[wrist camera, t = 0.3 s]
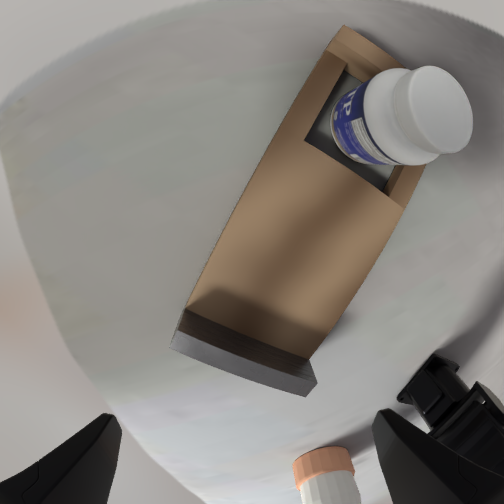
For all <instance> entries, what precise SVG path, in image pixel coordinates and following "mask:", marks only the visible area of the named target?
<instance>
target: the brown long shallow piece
mask: <svg viewBox="0 0 504 504" xmlns="http://www.w3.org/2000/svg"><path fill="white" fill-rule="evenodd" d="M393 68H403V69H406V68H405V67H404V66H403V65H401V64H400V63H399V62H398V61H396V60H395V59H394V58H392V57H391V56H390V55H388V54H387V53H386V52H384V51H383V50H382V49H380V48H379V47H377V46H376V45H375V44H373V43H372V42H370V41H369V40H367V39H366V38H364V37H363V36H361V35H360V34H358V33H357V32H355V31H353V30H352V29H350V28H349V27H347V26H345V25H343V26H342V28H341V29H340V30H339V31H338V33H337V34H336V35H335V36H334V38H333V39H332V40H331V41H330V43H329V44H328V46H327V47H326V49H325V51H324V52H323V54H322V56H321V57H320V59H319V60H318V62H317V64H316V65H315V67H314V69H313V70H312V72H311V74H310V75H309V77H308V79H307V80H306V82H305V84H304V85H303V87H302V89H301V90H300V92H299V94H298V95H297V97H296V99H295V100H294V102H293V104H292V106H291V107H290V109H289V111H288V112H287V114H286V116H285V118H284V119H283V121H282V123H281V125H280V126H279V128H278V130H277V132H276V133H275V135H274V137H273V139H272V141H271V142H270V144H269V146H268V148H267V149H266V151H265V153H264V155H263V157H262V158H261V160H260V162H259V164H258V166H257V168H256V169H255V171H254V173H253V175H252V177H251V179H250V180H249V182H248V184H247V186H246V188H245V190H244V192H243V193H242V195H241V197H240V199H239V201H238V203H237V205H236V207H235V208H234V210H233V212H232V214H231V216H230V218H229V220H228V222H227V224H226V226H225V228H224V229H223V231H222V233H221V235H220V237H219V239H218V241H217V243H216V245H215V247H214V249H213V251H212V253H211V255H210V257H209V259H208V261H207V263H206V265H205V267H204V269H203V271H202V273H201V275H200V277H199V279H198V281H197V283H196V285H195V287H194V289H193V291H192V293H191V295H190V297H189V299H188V301H187V303H186V306H185V308H184V310H183V312H182V314H181V316H180V319H179V321H178V324H177V327H176V330H175V333H174V335H173V338H172V341H171V344H170V347H169V348H171V349H173V350H175V351H177V352H180V353H182V354H184V355H187V356H189V357H191V358H194V359H196V360H198V361H201V362H203V363H206V364H208V365H211V366H213V367H216V368H218V369H221V370H224V371H226V372H229V373H232V374H234V375H237V376H240V377H243V378H245V379H248V380H251V381H254V382H257V383H260V384H263V385H266V386H269V387H272V388H276V389H279V390H282V391H285V392H289V393H292V394H296V395H299V396H303V397H306V396H307V395H308V394H309V393H310V392H311V390H312V389H313V388H314V387H315V386H316V385H317V380H316V377H315V375H314V372H313V369H312V366H311V363H310V361H309V359H310V358H311V356H312V355H313V354H314V352H315V351H316V350H317V348H318V347H319V346H320V344H321V343H322V342H323V340H324V339H325V338H326V336H327V335H328V333H329V332H330V331H331V329H332V328H333V326H334V325H335V324H336V322H337V321H338V319H339V318H340V316H341V315H342V314H343V312H344V311H345V309H346V308H347V306H348V305H349V303H350V302H351V300H352V299H353V297H354V296H355V294H356V293H357V291H358V289H359V288H360V286H361V285H362V283H363V282H364V280H365V278H366V277H367V275H368V274H369V272H370V270H371V269H372V267H373V265H374V264H375V262H376V260H377V259H378V257H379V255H380V253H381V252H382V250H383V248H384V247H385V245H386V243H387V241H388V240H389V238H390V236H391V234H392V232H393V230H394V229H395V227H396V225H397V223H398V221H399V219H400V217H401V216H402V214H403V212H404V210H405V208H406V206H407V204H408V202H409V200H410V198H411V196H412V194H413V192H414V190H415V188H416V186H417V183H418V181H419V179H420V177H421V175H422V173H423V170H424V168H425V166H426V164H427V163H426V164H423V165H412V166H411V165H396V166H395V168H394V170H393V172H392V174H391V176H390V178H389V180H388V182H387V184H386V186H385V188H384V190H383V192H381V191H380V190H378V189H377V188H376V187H374V186H373V185H371V184H370V183H369V182H367V181H366V180H364V179H363V178H361V177H360V176H359V175H357V174H356V173H354V172H353V171H351V170H350V169H348V168H347V167H345V166H344V165H342V164H341V163H339V162H338V161H336V160H335V159H333V158H331V157H330V156H328V155H327V154H325V153H323V152H322V151H320V150H319V149H317V148H315V147H314V146H312V145H310V144H309V143H307V142H305V141H304V139H305V137H306V135H307V134H308V132H309V130H310V128H311V126H312V125H313V123H314V121H315V119H316V117H317V116H318V114H319V112H320V110H321V109H322V107H323V105H324V103H325V101H326V100H327V98H328V96H329V94H330V93H331V91H332V89H333V87H334V85H335V84H336V82H337V80H338V78H339V77H340V75H341V73H342V71H343V70H345V71H346V72H348V73H349V74H351V75H352V76H354V77H355V78H357V79H358V80H360V81H361V82H363V83H364V82H366V81H368V80H369V79H371V78H372V77H374V76H375V75H377V74H379V73H381V72H383V71H385V70H388V69H393Z"/></svg>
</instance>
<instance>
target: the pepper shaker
mask: <svg viewBox="0 0 504 504" xmlns="http://www.w3.org/2000/svg"><path fill="white" fill-rule="evenodd" d="M293 472H294V477H295V483H296V488H297V489H298V490H299V491H300V492H301V498H302V504H361V497H360V493H359V490H358V487H357V485H356V482H355V480H354V477H353V476H354V473H355V470H354V467H353V464H352V461H351V458H350V456H349V453H348V451H347V449H345V448H343V447H337V446H333V447H324V448H320V449H316V450H313V451H311V452H308V453H306V454H304V455H302V456H300V457H299V458H298V459H297V460H295V462H294V463H293Z"/></svg>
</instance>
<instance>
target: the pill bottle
mask: <svg viewBox="0 0 504 504" xmlns="http://www.w3.org/2000/svg"><path fill="white" fill-rule="evenodd" d="M330 127H331V132H332V135H333V138H334V140H335V142H336V144H337V146H338V147H339V148H340V150H341V151H342V152H343V153H344V154H345V155H346V156H348V157H349V158H351V159H352V160H354V161H356V162H359V163H363V164H388V165H411V166H412V165H423V164H426V163H429V162H431V161H433V160H434V159H436V158H437V157H438V156H439V155H440V154H448V153H456V152H459V151H460V150H462V149H463V148H464V147H465V146H466V145H467V144H468V142H469V140H470V138H471V135H472V131H473V115H472V109H471V106H470V103H469V100H468V98H467V95H466V94H465V92H464V90H463V88H462V87H461V85H460V84H459V83H458V82H457V80H456V79H455V78H454V77H453V76H452V75H450V74H449V73H448V72H446V71H445V70H443V69H441V68H439V67H435V66H423V67H420V68H417V69H415V70H413V71H411V70H409V69H403V68H393V69H388V70H385V71H383V72H381V73H379V74H377V75H375V76H374V77H372V78H371V79H369V80H368V81H366V82H364V83H363V84H361V85H360V86H358V87H356V88H355V89H353V90H352V91H350V92H348V93H347V94H345V95H344V96H342V97H341V98H340V99H339V100H338V101H337V102H336V104H335V105H334V107H333V110H332V113H331V118H330Z"/></svg>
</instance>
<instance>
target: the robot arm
mask: <svg viewBox="0 0 504 504" xmlns="http://www.w3.org/2000/svg"><path fill="white" fill-rule="evenodd" d="M459 367H460V366H459V365H458V364H456V363H454V362H452V361H450V360H447V359H445V358H443V357H441V356H438V355H436V354H434V355H432V356H431V357H430V358H429V360H428V361H427V362H426V363H425V365H424V366H423V367H422V368H421V370H420V371H419V372H418V373H417V375H416V376H415V377H414V378H413V379H412V381H411V382H410V383H409V384H408V385H407V386H406V387H405V389H404V390H403V391H402V392H401V393H400V394H399V395H398V396H397V401H398V402H401V403H405V404H411V405H415V407H416V409H417V410H418V412H419V413H420V415H421V416H422V418H423V419H424V421H425V422H426V424H427V426H428V427H429V429H430V430H431V431H430V432H429V433H428V434H427V433H425V432H424V431H422V430H421V429H419V428H418V427H416V426H415V425H413V424H412V423H410V422H409V421H407V420H406V419H404V418H403V417H402V416H400V415H399V414H397V413H396V412H394V411H393V410H391V409H389V408H387V409H383V410H379V411H378V412H377V415H376V417H375V419H374V422H373V424H372V432H373V436H374V440H375V445H376V449H377V454H378V459H379V463H380V466H381V469H382V472H383V475H384V478H385V481H386V484H387V486H388V489H389V492H390V495H391V498H392V501H393V504H504V406H503V404H502V403H501V401H500V400H499V399H498V398H497V397H496V395H495V394H494V393H493V392H492V391H491V390H490V389H489V388H487V387H486V386H484V385H482V384H481V383H479V382H478V381H476V382H475V384H474V385H473V387H472V388H471V390H470V389H469V388H468V387H467V385H466V384H465V383H464V382H463V381H462V380H461V379H460V377H459V376H458V375H457V374H456V372H457V371H458V369H459ZM484 400H485V402H484ZM483 402H484V404H482V403H483ZM121 436H122V429H121V427H120V425H119V423H118V421H117V419H116V417H115V416H114V415H112V414H107V413H103V414H101V415H100V416H99V417H97V418H96V419H95V420H93V421H92V422H91V423H89V424H88V425H87V426H85V427H84V428H83V429H81V430H80V431H79V432H77V433H76V434H75V435H73V436H72V437H71V438H69V439H68V440H66V441H65V442H64V443H62V444H61V445H60V446H58V447H57V448H55V449H54V450H53V451H51V452H50V453H48V454H47V455H46V456H44V457H43V458H42V459H40V460H39V462H38V461H37V462H35V463H34V464H33V465H31V466H30V467H28V468H26V469H25V470H23V471H22V472H20V473H18V474H16V475H14V476H12V477H10V478H8V479H6V480H4V481H2V482H0V504H107V501H108V497H109V493H110V489H111V486H112V482H113V478H114V475H115V471H116V467H117V461H118V455H119V449H120V442H121Z"/></svg>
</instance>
